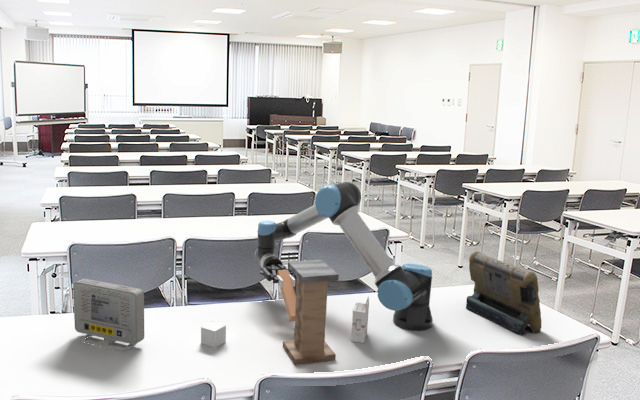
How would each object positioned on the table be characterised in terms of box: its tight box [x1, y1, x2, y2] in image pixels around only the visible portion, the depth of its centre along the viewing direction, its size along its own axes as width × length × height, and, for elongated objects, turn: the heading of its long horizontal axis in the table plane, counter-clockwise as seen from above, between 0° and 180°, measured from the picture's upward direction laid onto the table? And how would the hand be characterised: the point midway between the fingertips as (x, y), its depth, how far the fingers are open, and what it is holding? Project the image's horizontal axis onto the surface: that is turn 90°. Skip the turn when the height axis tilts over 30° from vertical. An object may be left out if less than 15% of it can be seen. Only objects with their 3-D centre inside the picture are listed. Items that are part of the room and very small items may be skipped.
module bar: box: [276, 270, 296, 322], centre depth 212 cm, size 22×4×3 cm
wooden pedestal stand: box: [282, 259, 339, 366], centre depth 189 cm, size 16×14×30 cm
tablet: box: [465, 250, 542, 336], centre depth 227 cm, size 33×14×25 cm, turn 35°
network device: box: [72, 278, 145, 352], centre depth 191 cm, size 26×9×20 cm, turn 71°
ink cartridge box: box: [350, 296, 370, 344], centre depth 204 cm, size 9×5×15 cm, turn 168°
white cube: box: [200, 320, 227, 349], centre depth 196 cm, size 6×6×6 cm
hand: (288, 283), depth 212 cm, fingers closed on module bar, 4 cm apart
